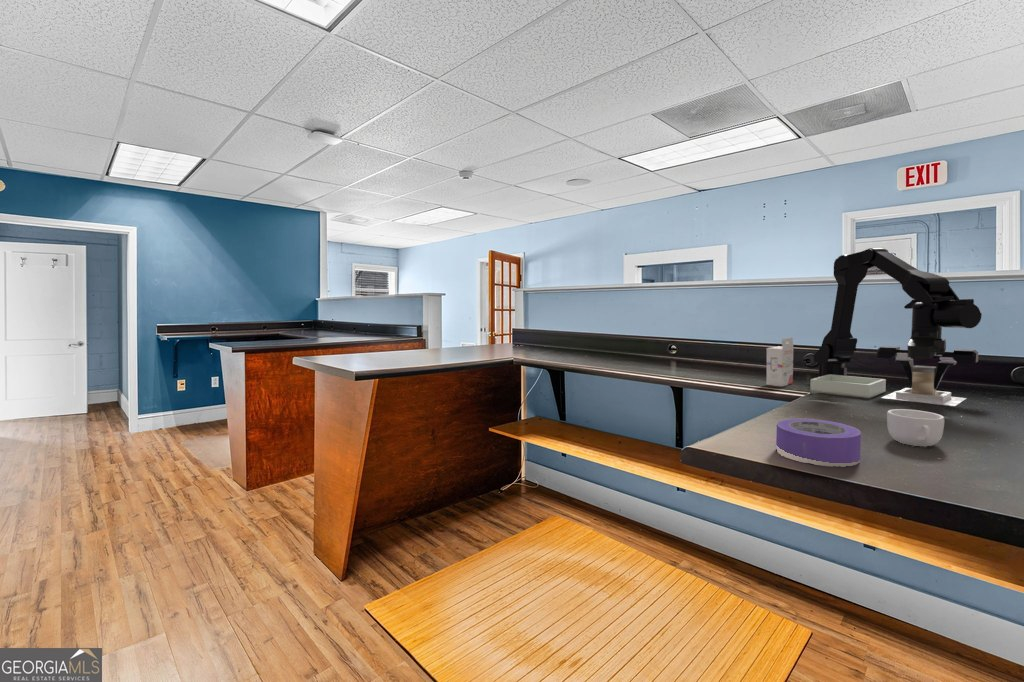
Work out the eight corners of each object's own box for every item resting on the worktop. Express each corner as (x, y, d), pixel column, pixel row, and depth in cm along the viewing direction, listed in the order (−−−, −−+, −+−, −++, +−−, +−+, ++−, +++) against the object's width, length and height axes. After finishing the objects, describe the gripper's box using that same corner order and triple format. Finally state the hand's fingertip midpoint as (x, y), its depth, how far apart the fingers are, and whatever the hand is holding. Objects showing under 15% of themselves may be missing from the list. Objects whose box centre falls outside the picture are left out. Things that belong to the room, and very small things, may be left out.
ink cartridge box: (776, 381, 150) (777, 336, 149) (793, 383, 147) (794, 337, 145) (765, 385, 145) (766, 338, 144) (782, 386, 141) (783, 338, 140)
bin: (810, 393, 130) (810, 379, 130) (828, 387, 138) (828, 374, 138) (869, 400, 119) (869, 385, 119) (885, 393, 128) (885, 379, 127)
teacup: (880, 435, 88) (881, 407, 88) (932, 440, 85) (933, 411, 85) (898, 451, 79) (899, 420, 79) (957, 456, 76) (958, 423, 75)
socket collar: (880, 399, 120) (881, 391, 120) (896, 393, 128) (896, 385, 128) (954, 408, 109) (955, 399, 108) (966, 400, 117) (967, 392, 117)
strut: (911, 397, 119) (912, 366, 118) (914, 395, 121) (915, 365, 121) (932, 400, 116) (934, 368, 115) (935, 397, 118) (936, 366, 118)
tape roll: (843, 474, 69) (844, 441, 69) (763, 454, 79) (763, 425, 78) (871, 457, 76) (872, 427, 76) (794, 442, 86) (795, 415, 85)
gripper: (872, 327, 119) (870, 387, 120) (975, 329, 105) (971, 397, 106) (882, 325, 126) (880, 382, 127) (980, 326, 112) (976, 390, 113)
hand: (923, 387), depth 118 cm, fingers closed on strut, 4 cm apart
